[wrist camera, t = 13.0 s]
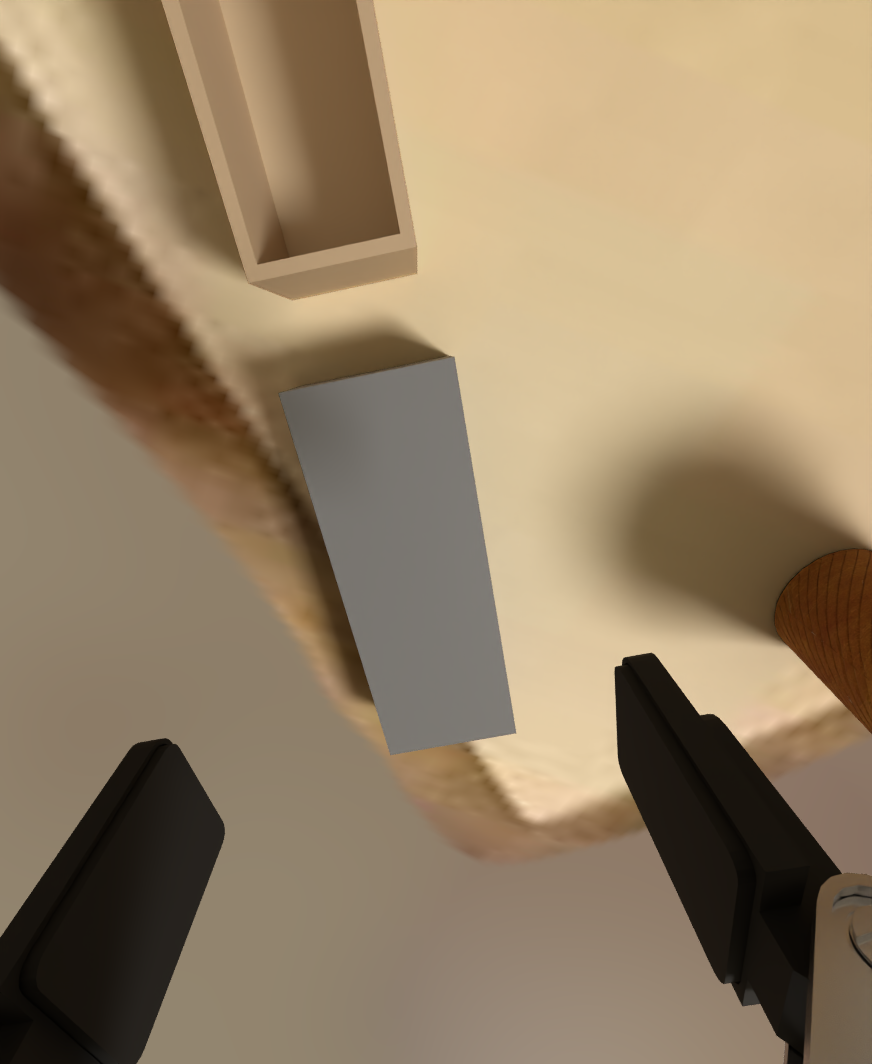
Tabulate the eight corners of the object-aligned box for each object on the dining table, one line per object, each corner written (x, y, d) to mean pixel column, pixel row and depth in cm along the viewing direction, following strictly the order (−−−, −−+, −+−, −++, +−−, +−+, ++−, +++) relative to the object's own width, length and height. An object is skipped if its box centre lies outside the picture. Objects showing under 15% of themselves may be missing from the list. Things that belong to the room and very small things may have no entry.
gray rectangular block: (298, 386, 19) (278, 393, 16) (449, 355, 19) (454, 357, 16) (393, 711, 26) (390, 754, 23) (505, 691, 25) (516, 733, 23)
